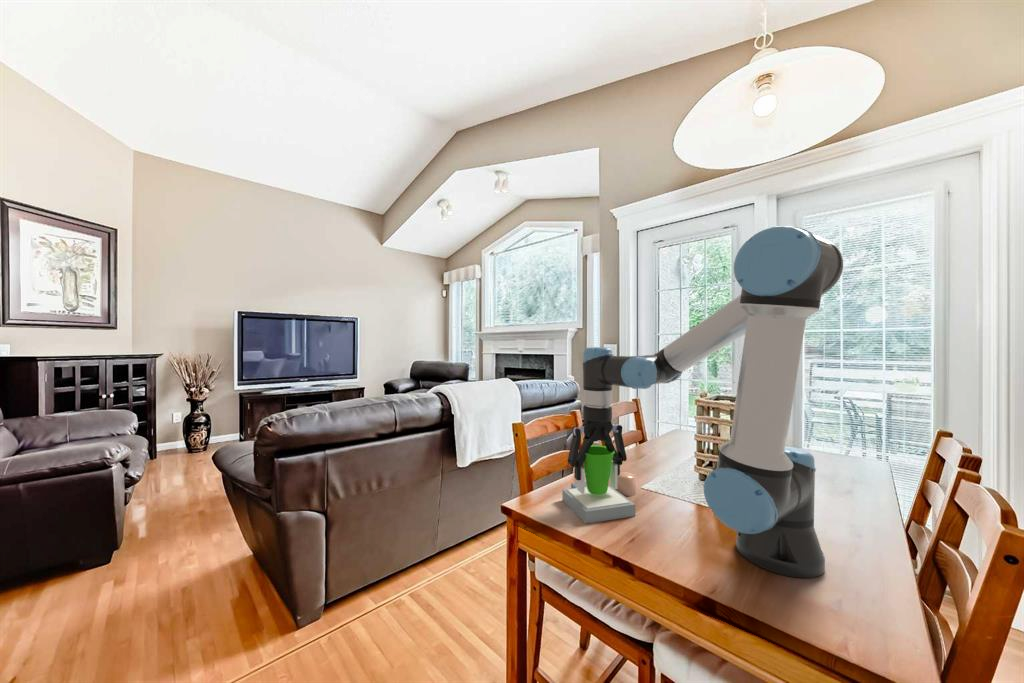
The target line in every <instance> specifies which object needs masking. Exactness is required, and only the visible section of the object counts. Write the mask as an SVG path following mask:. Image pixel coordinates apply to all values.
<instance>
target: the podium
mask: <svg viewBox="0 0 1024 683" xmlns="http://www.w3.org/2000/svg"><path fill="white" fill-rule="evenodd" d="M561 492H562V493H561V494H562V502H564V503H565V504H566V506H568V507H569V509H571V511H573V513H574V514H575V515H576V516H578V517H579V519H580V520H582V522H583V523H584V524H592V523H600V522H605V521H606V522H607V521H611V520H612V521H613V520H618V519H623V518H624V519H625V518H632V517H636V503H634V502H633V501H631V499H629V498H627V496H623V495H622V494H620V493H619V492H618V491H616V490H615V489H614V488H612V487H611V486H610V484H608V490H607V492H606V493H605V494H602V495H596V494H592V493H590V492H589V491H588V489H587V487H585V493H584V494H582V493H580V492H579V491H578V490H577V488H571V487H570V488H564V489H562V490H561Z"/></svg>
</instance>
